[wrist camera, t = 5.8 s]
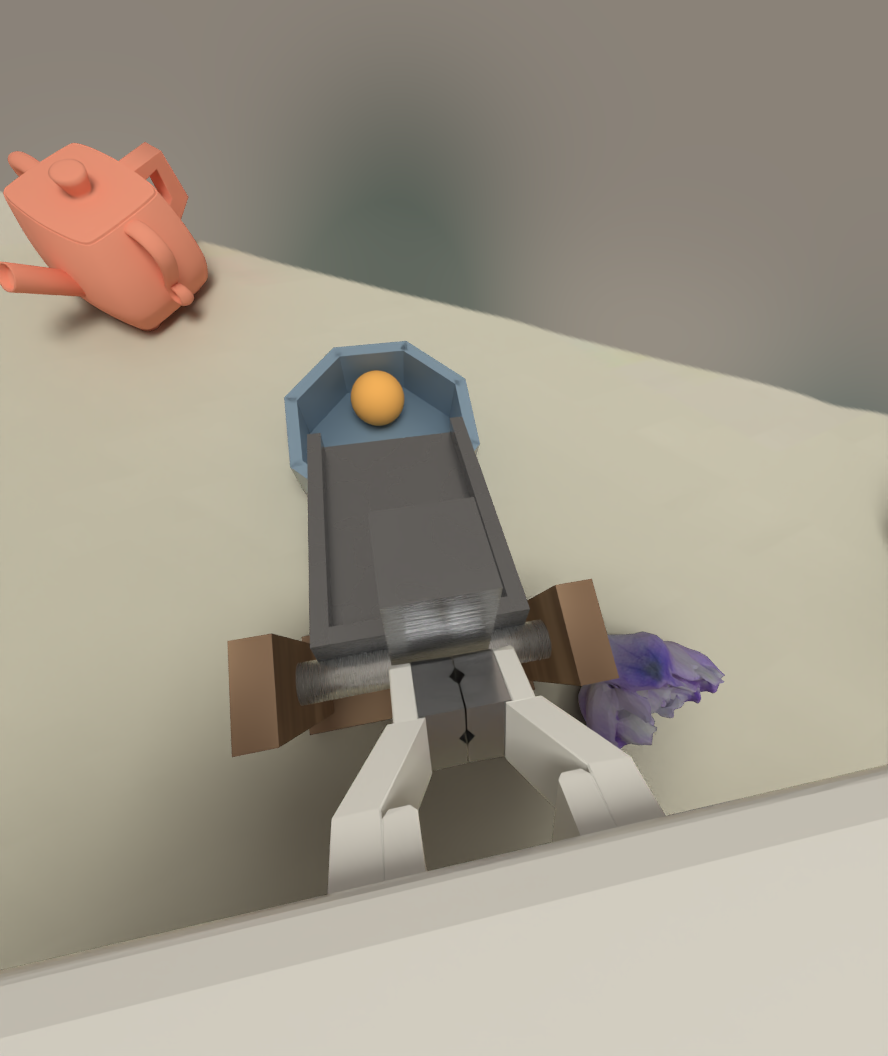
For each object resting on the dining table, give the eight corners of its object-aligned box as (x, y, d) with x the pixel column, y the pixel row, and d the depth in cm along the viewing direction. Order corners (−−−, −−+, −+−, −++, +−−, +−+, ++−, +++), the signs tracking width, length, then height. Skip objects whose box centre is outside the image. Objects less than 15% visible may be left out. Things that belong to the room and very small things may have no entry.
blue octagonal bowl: (310, 543, 32) (293, 522, 27) (295, 393, 36) (278, 351, 31) (480, 518, 34) (492, 494, 29) (450, 377, 37) (456, 335, 33)
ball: (355, 431, 32) (345, 373, 30) (355, 425, 36) (347, 373, 34) (409, 425, 32) (403, 367, 31) (404, 419, 36) (398, 367, 35)
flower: (522, 631, 25) (710, 748, 20) (591, 559, 30) (753, 636, 25) (505, 721, 30) (649, 831, 25) (566, 647, 36) (695, 725, 31)
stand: (313, 732, 28) (233, 788, 15) (305, 637, 30) (226, 614, 17) (530, 688, 30) (626, 704, 17) (510, 602, 32) (585, 555, 19)
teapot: (68, 357, 35) (-52, 247, 26) (79, 242, 39) (-24, 110, 29) (220, 345, 37) (157, 238, 27) (218, 236, 40) (161, 108, 31)
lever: (306, 766, 16) (162, 650, 8) (303, 474, 25) (237, 273, 17) (563, 712, 18) (683, 561, 9) (472, 452, 27) (490, 256, 18)
